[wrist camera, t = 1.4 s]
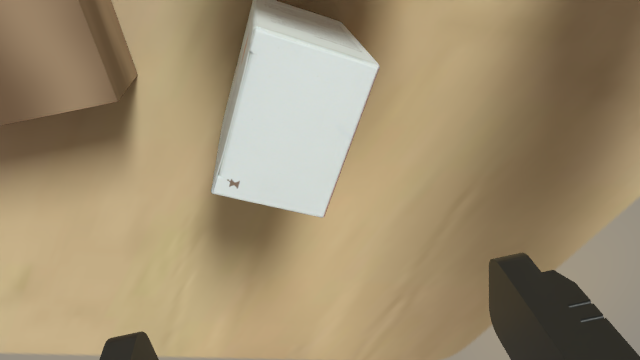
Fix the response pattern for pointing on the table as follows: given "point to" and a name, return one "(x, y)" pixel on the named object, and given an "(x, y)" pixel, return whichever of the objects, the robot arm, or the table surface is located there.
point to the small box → (291, 109)
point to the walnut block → (60, 57)
